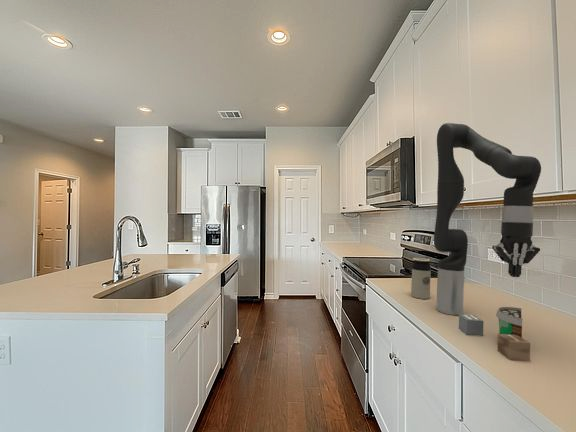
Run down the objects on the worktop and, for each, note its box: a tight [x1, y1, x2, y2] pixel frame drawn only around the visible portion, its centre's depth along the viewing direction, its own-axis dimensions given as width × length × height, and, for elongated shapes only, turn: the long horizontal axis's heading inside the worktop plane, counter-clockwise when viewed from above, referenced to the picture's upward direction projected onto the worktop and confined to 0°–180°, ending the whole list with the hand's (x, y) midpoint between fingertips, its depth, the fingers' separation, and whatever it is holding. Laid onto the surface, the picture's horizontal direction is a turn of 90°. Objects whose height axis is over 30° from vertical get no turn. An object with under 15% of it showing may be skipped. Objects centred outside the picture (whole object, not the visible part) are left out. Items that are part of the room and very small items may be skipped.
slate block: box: [458, 314, 484, 337], centre depth 92 cm, size 5×5×5 cm
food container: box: [495, 306, 523, 338], centre depth 85 cm, size 12×6×10 cm, turn 141°
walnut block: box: [497, 333, 531, 362], centre depth 77 cm, size 5×5×5 cm
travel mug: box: [410, 257, 432, 300], centre depth 131 cm, size 8×8×18 cm
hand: (514, 276), depth 86 cm, fingers closed
